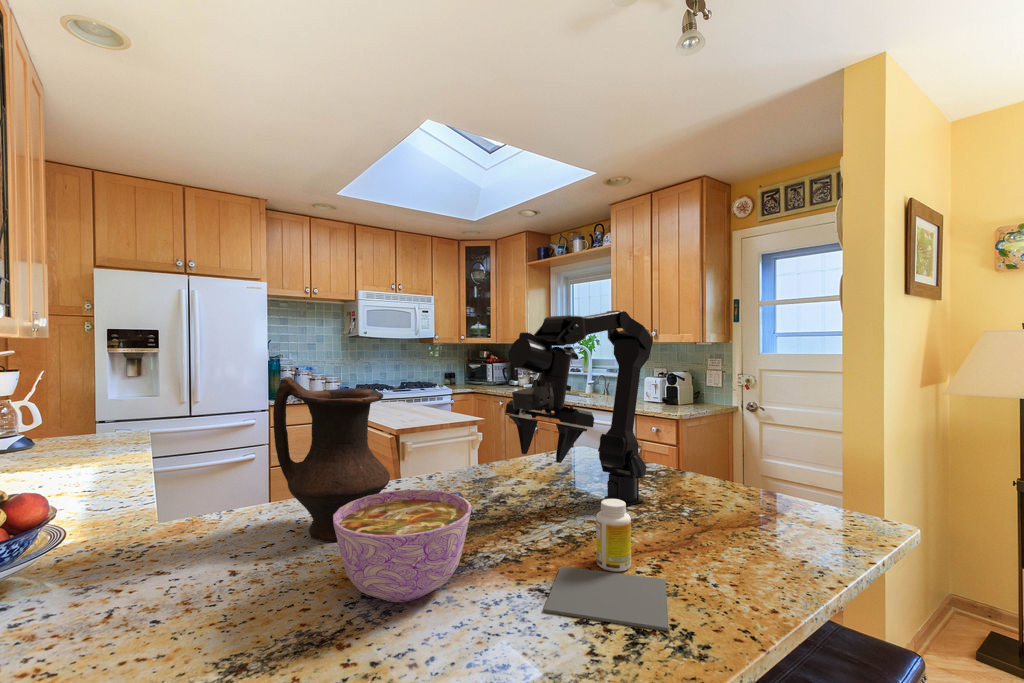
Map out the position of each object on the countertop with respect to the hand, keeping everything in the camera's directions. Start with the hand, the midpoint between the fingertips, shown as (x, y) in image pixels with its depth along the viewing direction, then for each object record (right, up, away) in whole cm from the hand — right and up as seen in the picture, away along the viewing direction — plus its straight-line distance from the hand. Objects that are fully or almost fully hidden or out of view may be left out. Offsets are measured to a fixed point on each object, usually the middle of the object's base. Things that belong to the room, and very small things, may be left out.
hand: (540, 458), depth 93 cm
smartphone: (-19, -15, +15) cm, 29 cm away
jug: (-40, -14, +1) cm, 42 cm away
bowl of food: (-21, -14, -21) cm, 33 cm away
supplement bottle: (+11, -14, -14) cm, 23 cm away
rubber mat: (+8, -14, -23) cm, 29 cm away
